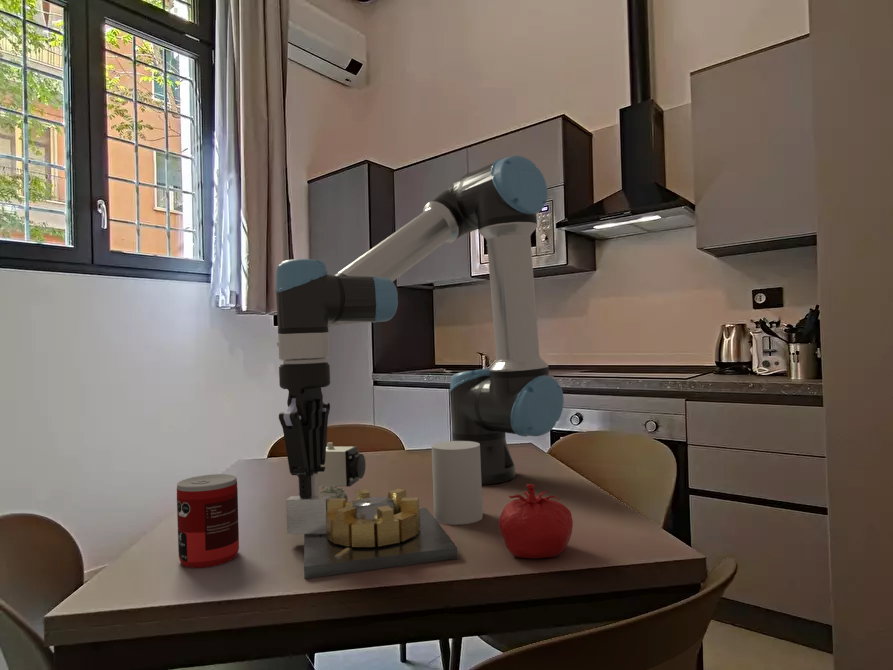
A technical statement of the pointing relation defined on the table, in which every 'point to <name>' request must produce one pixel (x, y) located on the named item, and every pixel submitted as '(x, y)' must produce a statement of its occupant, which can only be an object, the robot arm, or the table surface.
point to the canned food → (207, 520)
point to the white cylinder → (457, 482)
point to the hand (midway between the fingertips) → (310, 516)
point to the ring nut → (354, 519)
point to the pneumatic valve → (340, 470)
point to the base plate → (343, 559)
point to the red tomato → (535, 525)
